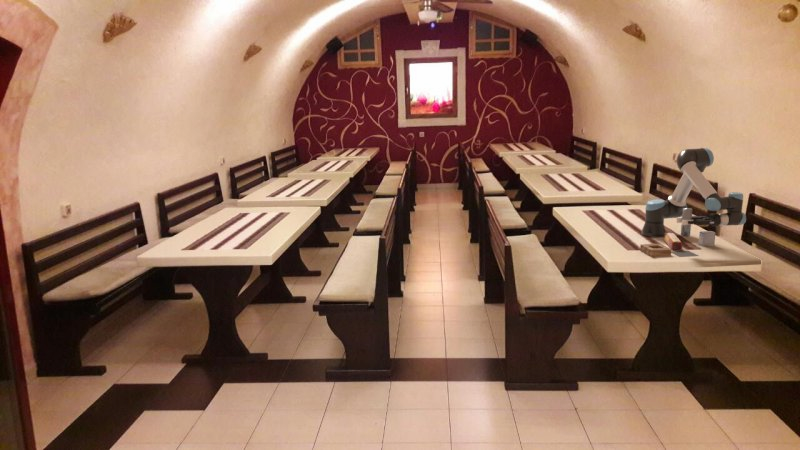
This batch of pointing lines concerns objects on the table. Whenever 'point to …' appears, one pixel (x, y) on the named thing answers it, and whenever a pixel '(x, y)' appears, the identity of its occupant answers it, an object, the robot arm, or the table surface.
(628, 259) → the table surface
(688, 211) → the pin
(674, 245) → the snack package
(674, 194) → the robot arm
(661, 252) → the socket block
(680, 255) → the mat
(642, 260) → the table surface
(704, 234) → the medicine box
